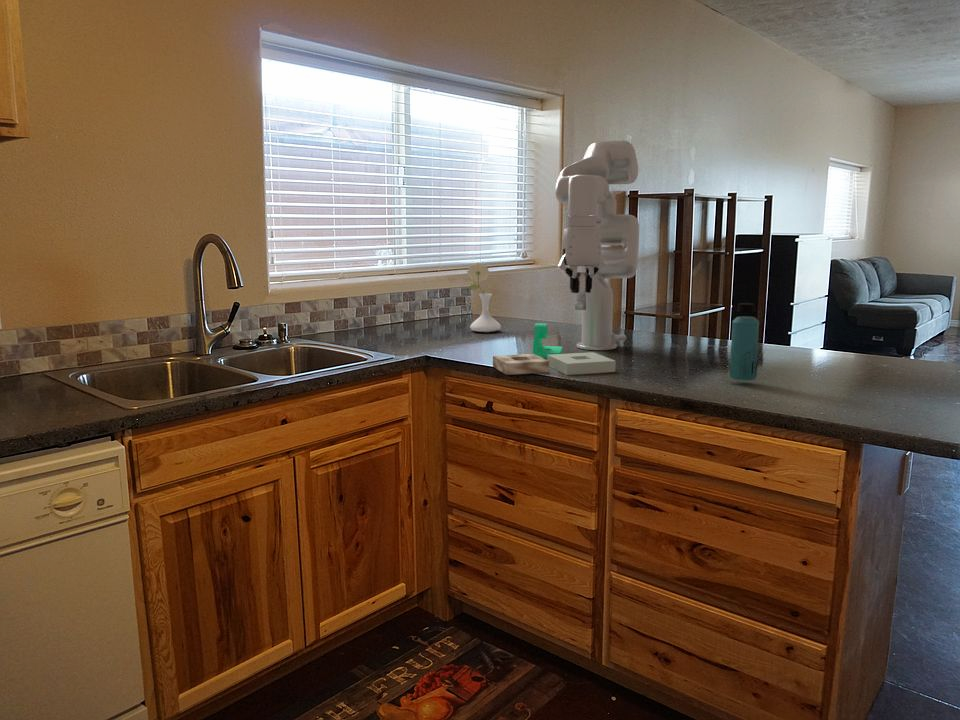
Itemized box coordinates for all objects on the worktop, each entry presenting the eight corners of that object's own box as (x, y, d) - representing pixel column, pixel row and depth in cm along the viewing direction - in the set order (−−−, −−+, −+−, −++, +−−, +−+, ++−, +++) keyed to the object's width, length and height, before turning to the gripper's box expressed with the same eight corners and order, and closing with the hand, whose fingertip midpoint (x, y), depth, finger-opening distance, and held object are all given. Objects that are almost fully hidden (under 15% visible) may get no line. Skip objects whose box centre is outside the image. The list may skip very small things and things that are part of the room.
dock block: (592, 362, 213) (593, 352, 212) (615, 371, 200) (615, 360, 199) (547, 365, 209) (547, 354, 209) (566, 375, 196) (567, 363, 195)
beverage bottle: (753, 387, 180) (758, 305, 176) (725, 384, 184) (729, 303, 180) (759, 382, 186) (764, 302, 182) (731, 379, 189) (736, 301, 185)
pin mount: (533, 364, 211) (533, 353, 211) (549, 372, 200) (549, 361, 199) (492, 366, 208) (492, 355, 207) (506, 374, 196) (506, 363, 196)
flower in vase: (505, 330, 276) (506, 262, 272) (493, 334, 266) (493, 264, 261) (473, 328, 282) (473, 261, 277) (460, 332, 271) (460, 263, 267)
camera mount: (559, 362, 215) (559, 326, 213) (532, 361, 216) (533, 326, 214) (562, 354, 227) (563, 321, 225) (537, 354, 228) (537, 320, 226)
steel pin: (583, 308, 203) (584, 271, 202) (587, 309, 201) (588, 272, 199) (573, 308, 203) (573, 271, 201) (577, 310, 200) (578, 272, 198)
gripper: (604, 222, 203) (602, 290, 207) (548, 223, 199) (547, 292, 202) (616, 222, 196) (614, 292, 199) (558, 223, 192) (557, 294, 195)
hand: (580, 291), depth 201 cm, fingers closed on steel pin, 3 cm apart
